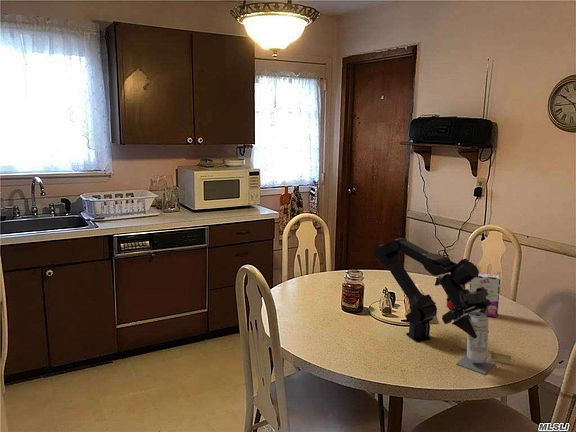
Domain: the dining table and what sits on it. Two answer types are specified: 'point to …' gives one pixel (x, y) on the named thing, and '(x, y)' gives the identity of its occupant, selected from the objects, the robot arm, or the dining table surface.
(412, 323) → the robot arm
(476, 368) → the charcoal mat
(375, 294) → the dining table surface
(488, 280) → the candy bar box
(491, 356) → the zigzag wooden bar
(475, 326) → the energy drink can
